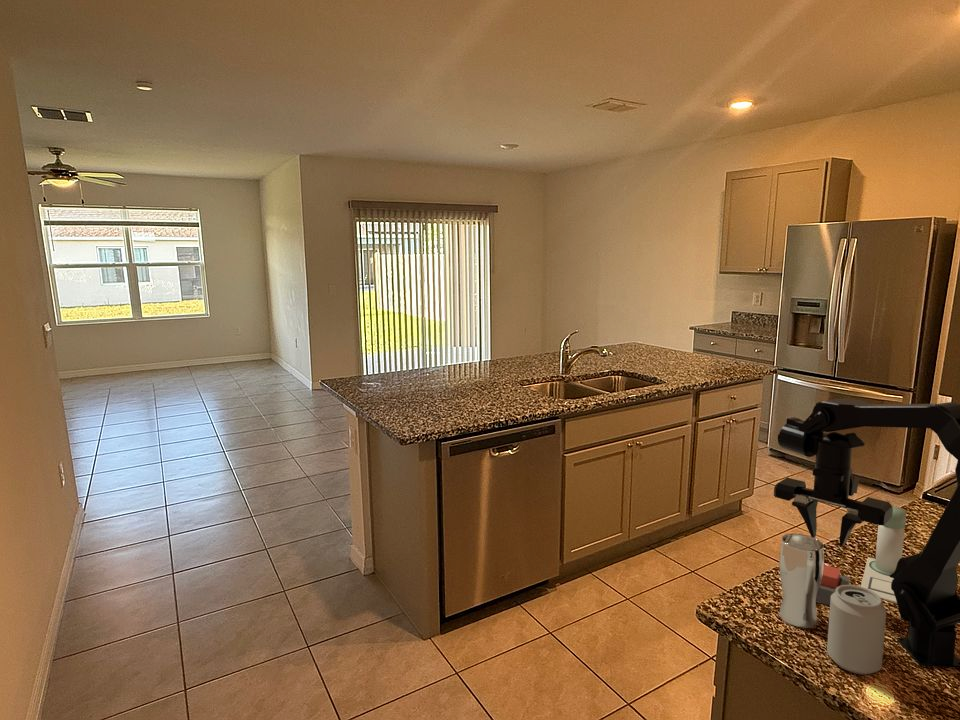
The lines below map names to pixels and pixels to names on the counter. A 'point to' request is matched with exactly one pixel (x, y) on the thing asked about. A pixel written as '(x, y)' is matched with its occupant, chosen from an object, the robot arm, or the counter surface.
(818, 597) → the button housing
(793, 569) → the beer glass
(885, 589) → the colouring card
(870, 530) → the counter surface
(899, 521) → the ball
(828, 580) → the button
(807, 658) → the counter surface
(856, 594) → the can
